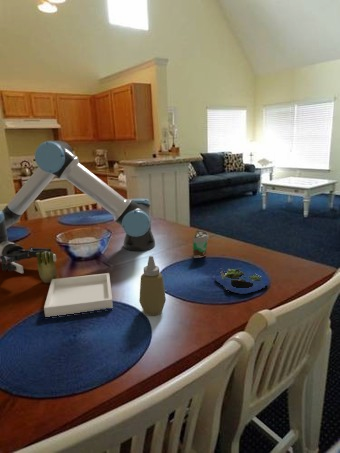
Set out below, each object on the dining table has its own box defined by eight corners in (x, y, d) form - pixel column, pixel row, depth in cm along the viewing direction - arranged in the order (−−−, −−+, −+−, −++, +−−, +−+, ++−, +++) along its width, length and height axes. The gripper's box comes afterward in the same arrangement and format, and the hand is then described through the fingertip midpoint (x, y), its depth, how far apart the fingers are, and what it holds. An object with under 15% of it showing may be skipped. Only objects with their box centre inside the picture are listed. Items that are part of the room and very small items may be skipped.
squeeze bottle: (139, 304, 103) (137, 252, 98) (165, 303, 104) (163, 251, 99) (139, 319, 96) (137, 262, 91) (167, 317, 96) (165, 261, 91)
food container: (207, 261, 137) (207, 238, 134) (192, 260, 138) (192, 238, 135) (209, 250, 149) (210, 230, 146) (196, 250, 150) (196, 229, 147)
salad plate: (201, 277, 123) (201, 266, 122) (239, 268, 130) (240, 257, 129) (232, 299, 106) (233, 287, 105) (274, 288, 114) (275, 276, 112)
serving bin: (109, 281, 120) (109, 273, 119) (112, 309, 101) (112, 299, 100) (53, 288, 116) (51, 279, 115) (45, 318, 97) (43, 307, 96)
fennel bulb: (38, 283, 120) (34, 252, 116) (47, 277, 124) (43, 248, 121) (50, 285, 118) (46, 254, 114) (60, 280, 122) (56, 250, 119)
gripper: (39, 251, 144) (68, 262, 132) (-20, 270, 125) (8, 285, 113) (37, 235, 142) (66, 244, 130) (-23, 252, 123) (4, 265, 111)
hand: (39, 263), depth 121 cm, fingers open, 13 cm apart
